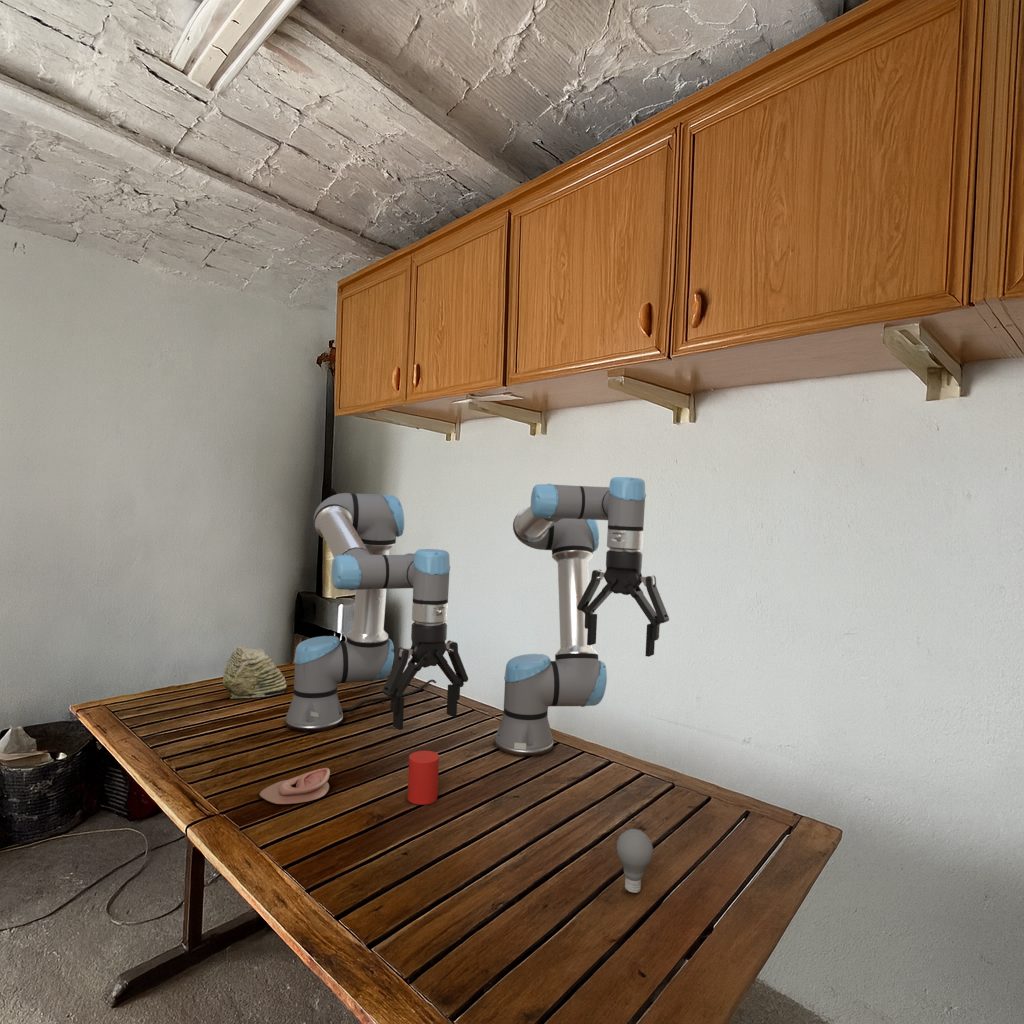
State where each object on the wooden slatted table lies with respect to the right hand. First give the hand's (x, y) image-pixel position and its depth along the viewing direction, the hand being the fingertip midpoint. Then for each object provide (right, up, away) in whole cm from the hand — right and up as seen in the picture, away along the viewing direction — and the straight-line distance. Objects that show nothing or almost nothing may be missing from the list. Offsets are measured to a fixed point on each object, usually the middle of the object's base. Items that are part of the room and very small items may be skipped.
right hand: (619, 649), depth 135 cm
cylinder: (-42, -32, +1) cm, 53 cm away
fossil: (-104, -28, +63) cm, 125 cm away
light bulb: (-3, -34, -29) cm, 45 cm away
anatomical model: (-69, -31, 0) cm, 76 cm away
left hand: (-41, -15, 0) cm, 44 cm away
